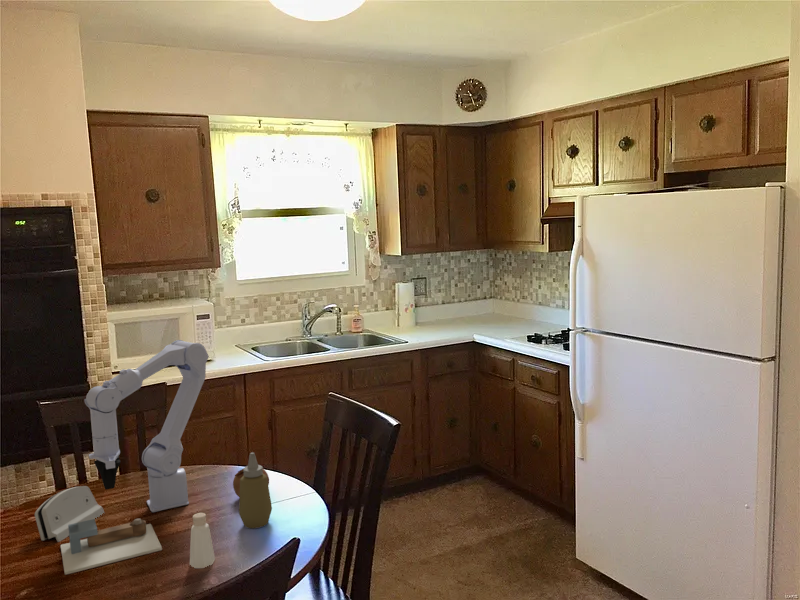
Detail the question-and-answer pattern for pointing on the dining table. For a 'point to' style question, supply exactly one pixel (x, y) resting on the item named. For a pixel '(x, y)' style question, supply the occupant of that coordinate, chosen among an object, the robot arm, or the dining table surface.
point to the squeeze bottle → (254, 495)
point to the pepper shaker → (201, 543)
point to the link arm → (118, 532)
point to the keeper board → (103, 547)
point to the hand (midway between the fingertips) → (109, 487)
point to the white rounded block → (66, 512)
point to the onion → (237, 481)
